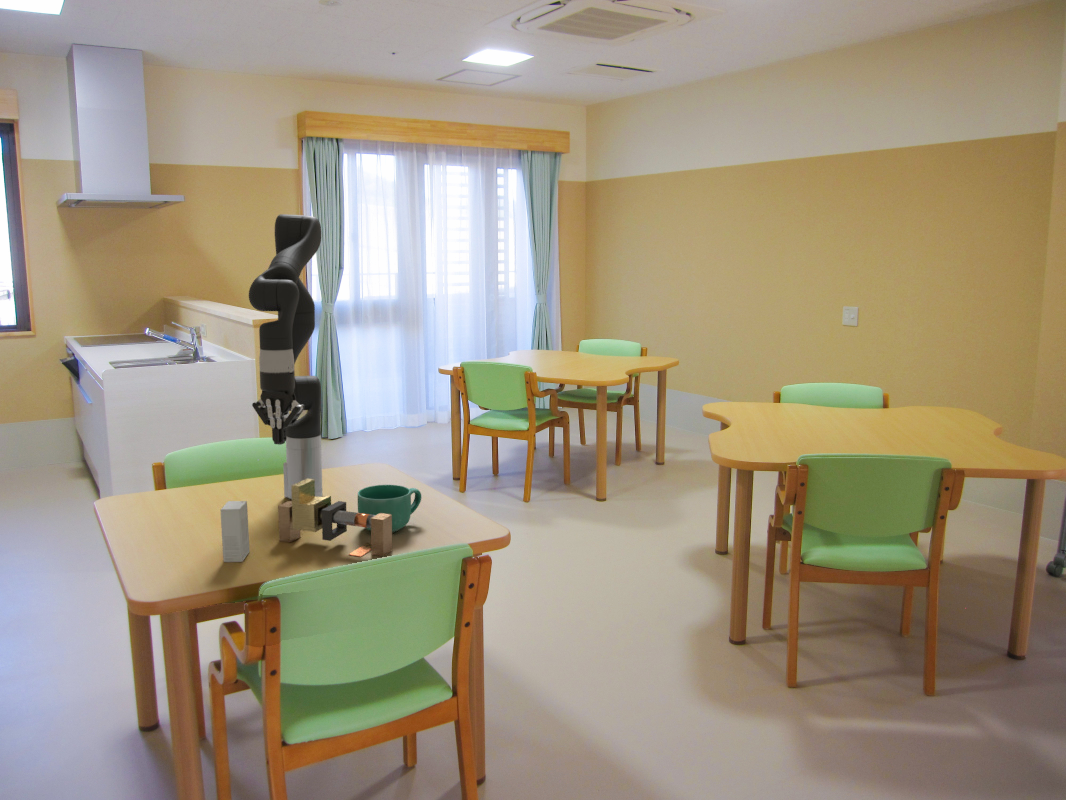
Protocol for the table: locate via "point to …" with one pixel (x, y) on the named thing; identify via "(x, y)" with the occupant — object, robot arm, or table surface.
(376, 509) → the mug
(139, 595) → the table surface
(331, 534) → the dark grey square plate
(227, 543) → the skincare box
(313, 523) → the tan notched block
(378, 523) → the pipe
